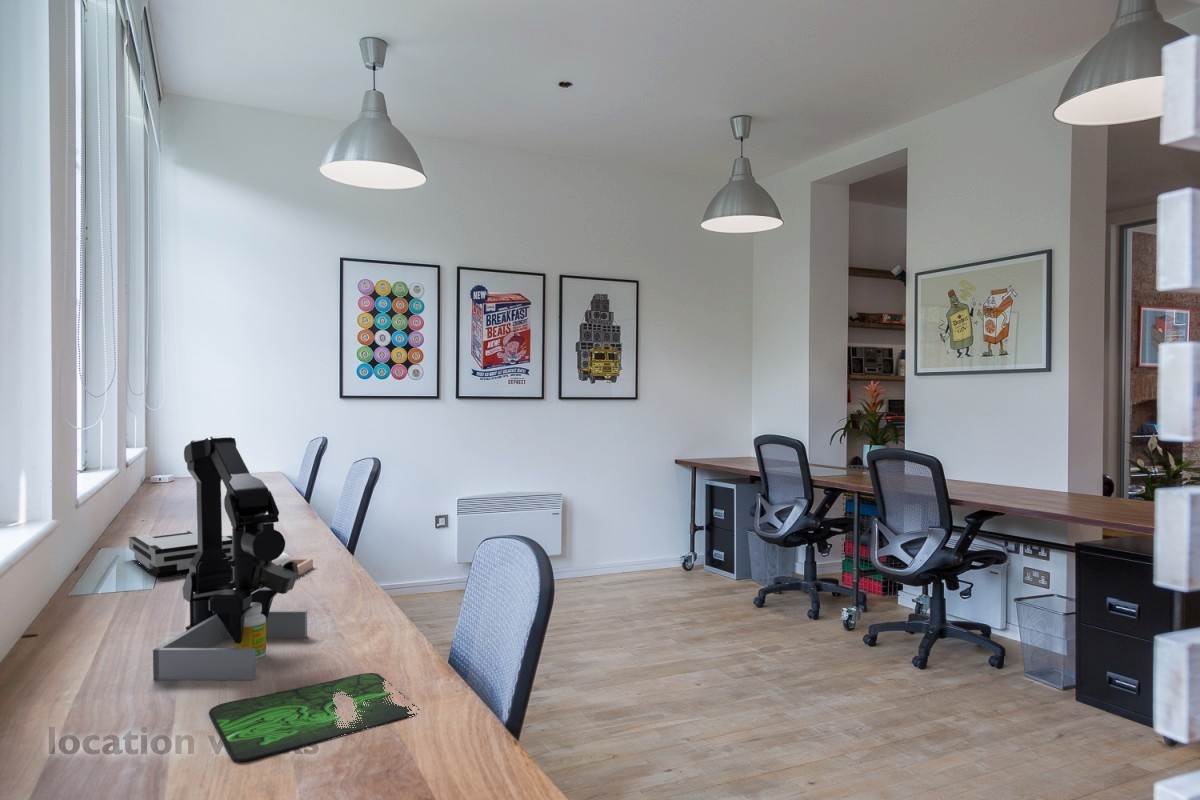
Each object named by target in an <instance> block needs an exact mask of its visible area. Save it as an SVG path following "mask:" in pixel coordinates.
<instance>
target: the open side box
mask: <svg viewBox="0 0 1200 800" xmlns="http://www.w3.org/2000/svg"><path fill="white" fill-rule="evenodd" d="M306 637H308V610H270V611H269V614H268V618H267V621H266V639H268V638H277V639H278V638H281V639H283V638H285V639H286V638H291V639H292V638H295V639H296V638H297V639H299V638H303V639H305V638H306ZM225 638H232V637H231V636H230V634H229V632H228V631H227V629H226V627H225V626H224V624H223V623H222V621H221V620H220V618H219V617H218V615H217V614H215V615H214V616H212V617H210V618H208V619H206V620H205V621H203V622H201V623H199V624H198V625H196V626H194V627H192V628H191V629H189V630H185V631H184V632H182V633H180V634H178V635H177V636H175V637H174V638H171V639H170V640H168V641H166V642H165V643H163V644H160V645H159V646H157V647H155V648H154V649H152V664H153V665H152V669H153V670H152V674H153V676H152V678H153V680H154V681H156V680H159V681H161V680H164V681H165V680H169V681H171V680H172V681H174V680H175V681H177V680H178V681H181V680H182V681H185V680H186V681H187V680H188V681H189V680H190V681H191V680H192V681H253V680H255V679H256V659H255V648H235V647H212V646H214V645H215V644H217V643H218V642H220V641H222V640H223V639H225Z"/></svg>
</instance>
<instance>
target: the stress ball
mask: <svg viewBox="0 0 1200 800" xmlns="http://www.w3.org/2000/svg"><path fill="white" fill-rule="evenodd" d="M291 559H292V558H291V556H290V555H288V554H287V553H286V552H284V551H283V552H282V554H281V555H280V556H279V557H278V558H276V559H275V560H272V564H275V565H282V566H284V565H285V564H286V563H287V562H289V561H291Z"/></svg>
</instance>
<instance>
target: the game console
mask: <svg viewBox="0 0 1200 800" xmlns="http://www.w3.org/2000/svg"><path fill="white" fill-rule="evenodd" d="M128 549H129V550H130V551H132V552H133V553H134V559H135V560H136V561H137V562H138V563H140V564H141V565H142V566H143V567H142V566H141V565H140V564H139V565H140V566H141V567H142V568H144V567H145V568H146V569H147V571H148V570H149V571H150V572H151V574H152V573H153V574H154V577H155V578H163V577H169V576H170V577H171V576H175V575H181V574H183V570H188V569H189V567H190V562H191V561H192V559H193V557H194V556H195V554H196V553H197V551H198V533H197V528H195V529H194V528H193V529H187V530H186V532H181V533H172V534H166V535H157V536H156V535H155V536H152V535H150V534H145V535H136V536H129V537H128ZM222 550H223V551H224V552H225V554H226V555H227V556H228V558H230V559H233V547H232V535H225V536H223V535H222ZM137 562H136V563H137ZM138 563H137V564H138ZM145 568H144V569H145ZM146 569H145V570H146ZM149 571H148V572H149ZM150 572H149V573H150ZM153 574H152V575H153Z"/></svg>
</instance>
